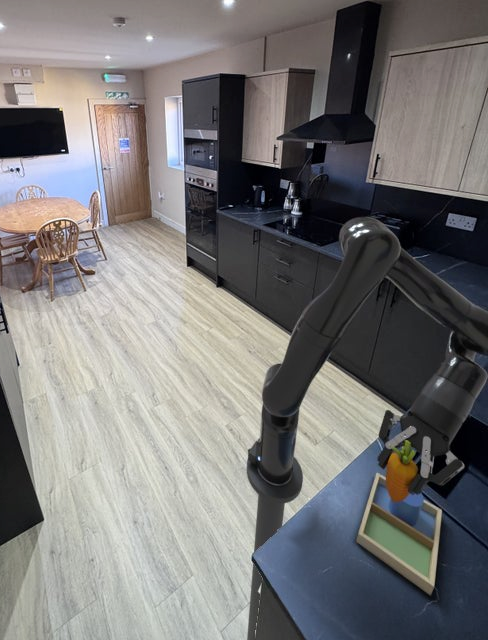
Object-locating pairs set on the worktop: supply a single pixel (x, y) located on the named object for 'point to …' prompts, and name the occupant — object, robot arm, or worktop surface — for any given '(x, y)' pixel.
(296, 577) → the worktop surface
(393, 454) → the carrot
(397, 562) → the sorting tray
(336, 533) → the worktop surface
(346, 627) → the worktop surface
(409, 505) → the blue cylinder
